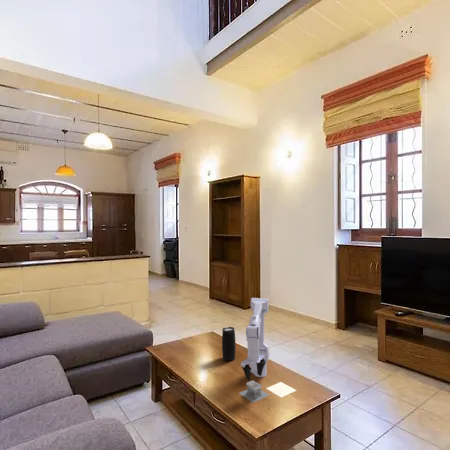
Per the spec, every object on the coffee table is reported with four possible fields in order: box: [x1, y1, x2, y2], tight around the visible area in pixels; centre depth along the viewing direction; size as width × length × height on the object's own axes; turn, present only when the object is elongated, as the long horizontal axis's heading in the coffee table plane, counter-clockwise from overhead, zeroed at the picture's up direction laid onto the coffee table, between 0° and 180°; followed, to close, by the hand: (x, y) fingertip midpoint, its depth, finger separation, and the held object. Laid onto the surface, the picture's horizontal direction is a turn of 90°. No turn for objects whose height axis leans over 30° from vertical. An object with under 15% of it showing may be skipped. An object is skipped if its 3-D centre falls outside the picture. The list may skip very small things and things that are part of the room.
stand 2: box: [265, 381, 297, 398], centre depth 162 cm, size 11×11×2 cm
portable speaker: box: [221, 326, 237, 362], centre depth 203 cm, size 9×9×20 cm
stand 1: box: [238, 389, 270, 403], centre depth 157 cm, size 11×11×2 cm
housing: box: [246, 380, 262, 398], centre depth 157 cm, size 6×4×5 cm
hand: (253, 377), depth 157 cm, fingers open, 7 cm apart
